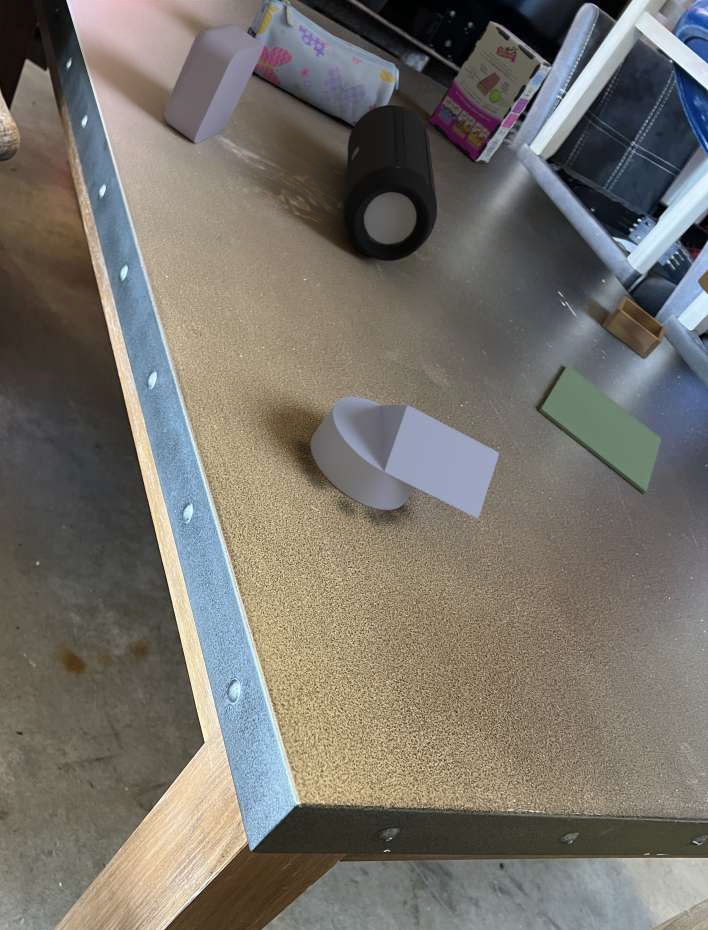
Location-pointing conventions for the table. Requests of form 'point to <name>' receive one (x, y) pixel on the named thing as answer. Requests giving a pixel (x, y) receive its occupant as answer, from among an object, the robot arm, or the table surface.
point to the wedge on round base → (400, 456)
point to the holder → (634, 327)
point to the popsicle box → (489, 92)
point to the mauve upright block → (212, 81)
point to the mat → (603, 427)
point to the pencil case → (319, 64)
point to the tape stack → (704, 281)
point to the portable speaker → (389, 184)
